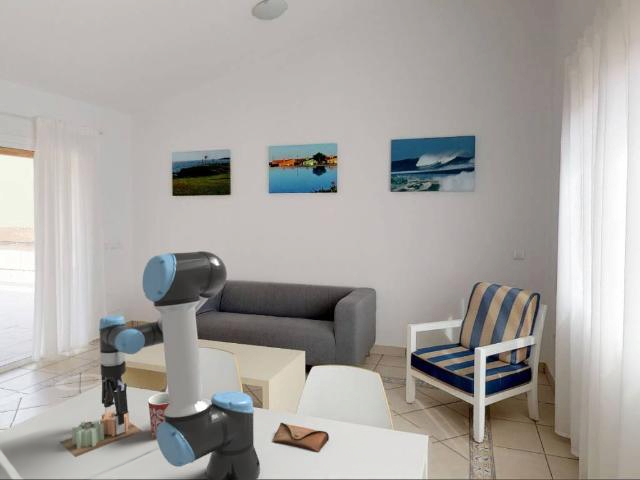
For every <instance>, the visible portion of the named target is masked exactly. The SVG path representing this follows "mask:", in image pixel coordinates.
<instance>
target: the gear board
mask: <svg viewBox="0 0 640 480" xmlns="http://www.w3.org/2000/svg"><path fill="white" fill-rule="evenodd" d="M115 414H116V413H113V414H111V418H115V416H114V415H115ZM85 422H86V423H85V424H84V426H85V429H89V428H91V427H92V423H91V422H92V421H91V422H90V421H85ZM141 432H143V430H142V429H141V428H139V427H138V426H136V425H134V424H133V423H131V422H130V421H129V426H128V431H127V432H123V433H120V434H118V435H116V434H115V436H112V434H111V435H108V434H104V440H99V441H98V443H96V446H94V447H92V446H91V445H90V446H87V447H85V446H83V447H82V448H80V449H77V444H72V437H70V438H66V439H65V440H62V441H59V443H60V444H61V445H62V446H63V447H64V448H66V450H67V451H69V453H71V454H72V456H73V457H75V458H76V457H79V456H82V455H84V454H86V453H89V452H92V451H94V450H97V449H100V448H102V447H104V446H107V445H111V444H112V443H115V442H117V441H120V440H122V439H125V438H128V437H130V436H133V435H135V434H138V433H141Z"/></svg>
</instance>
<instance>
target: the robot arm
mask: <svg viewBox="0 0 640 480" xmlns="http://www.w3.org/2000/svg"><path fill="white" fill-rule="evenodd" d="M227 275H228V273H227V268H226V265H225V263H224V261H223V259H221V258H220V257H219V256H218V255H216V254H214V253H212V252H211V251H210V252H209V251H203V250H202V251H192V252H189V251H188V252H175V253H173V252H172V253H171V252H170V253H169V252H168V253H165V254H159V255H155V256H153V257H151V258H150V259H149V260H148V261H147V263H146V265H145V267H144V270H143V274H142V290H143V292H144V296H145V297H146V299H147V300H149V301H150V302H152V303H153V307H154V309H156V310H157V311H158V312H159V313H160V317H159V318H158V319H157V321H153V322H147V323H143V324H138V325H132V326H127V325H126V322H125V317H124V316H123V315H117V314H115V315H107V316H104V317H102V318H100V319H99V329H98V330H99V347H100V349H99V359H100V360H99V362H100V375H101V404H102V405H103V407H104V409H105V410H104V414H108V413H110V412H114V410H116V414H115V415H114V416H115V429H116V435H118V434H120V433H123V432H125V420H124V414H126V413H128V411H129V408H128V407H129V406H128V395H127V388H128V387H127V386H128V385H127V383H123V379H122V376H123V375H124V374H125V373H126V371H127V370H126V369H127V368H126V367H127V366H126V361H125V360H126V354H127V355H135V354H137V353H139V352H140V351H141V350H142V349H144V348H149V347H153V346H156V345H161V344H163V349H164V360H165V370H166V381H167V393H168V394H169V406H168V407H167V408H166V410H165V411H164V418H165V422H162V423H161V424H159V426H158V427H157V431H156V436H157V438H156V441H157V445H158V448H159V450H160V452H161V454H162V456H163V458H165V460H166V461H167V462H168V463H169V464H170V465H171V466H173V467H176V468H178V467H183V466H186V465H188V464H192V463H194V462H195V461H198V460H199V459H201V458H202V457H205V456H207V455H209V454H210V456H209V461H208V463H207V466H206V471H205V473H206V475H205V476H206V480H257V479H258V478H259V476H260V473H261V464H260V460H259V457H258V453H257V451H256V448H255V444H254V442H255V441H254V440H255V439H254V413H255V410H254V403H253V402H254V401H253V399H252V397H251V396H250V395H249V394H247V393H245V392H242V391H234V390H230V391H229V390H228V391H220V392H216V393H215V394H213V395H212V397H211V399H210V401H209V400H208V399H206V398H204V391H203V381H202V380H203V379H202V370H201V358H200V357H201V356H200V351H199V350H200V348H199V341H198V340H199V337H198V328H197V316H196V313H197V312H198V311H199V310H200V309H201V308H202V306H203V305H204V304H205V303H206V302H207V301H208V299H213V298H214V297H216V296H217V295H218V294H219V293H220V292H221V290H222V289H223V288H224V286H225V284H226V281H227ZM210 402H211V403H210Z"/></svg>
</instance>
